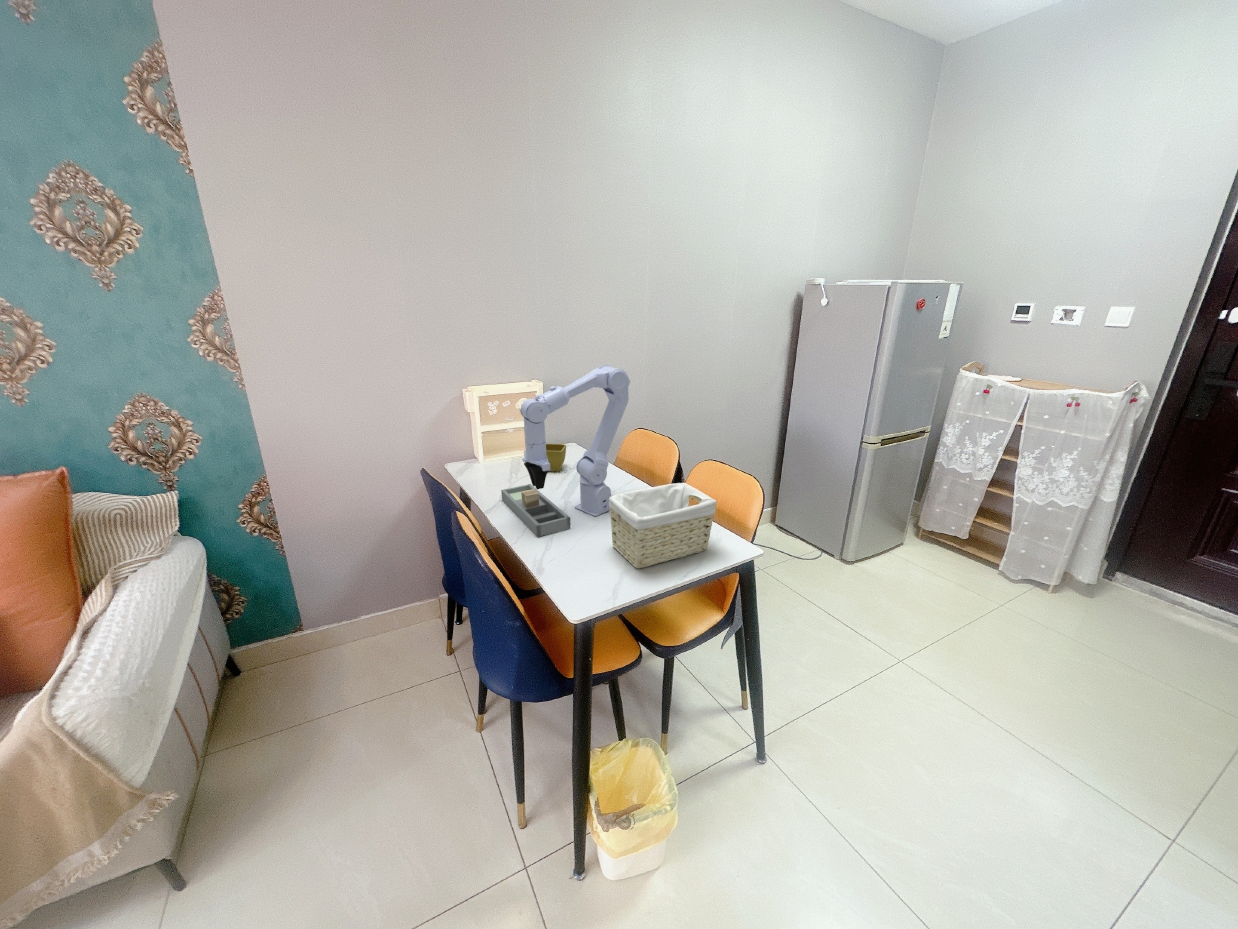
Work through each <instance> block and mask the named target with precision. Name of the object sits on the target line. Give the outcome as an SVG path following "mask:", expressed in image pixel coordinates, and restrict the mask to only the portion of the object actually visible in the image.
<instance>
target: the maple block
mask: <svg viewBox="0 0 1238 929" xmlns="http://www.w3.org/2000/svg"><path fill="white" fill-rule="evenodd" d="M521 495H522V504H523V505H524V506H525V507H526V508H530V507H535V506H539V493H537V492H536V491H535V490H534V489H532V490H527V491H522V492H521Z"/></svg>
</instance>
